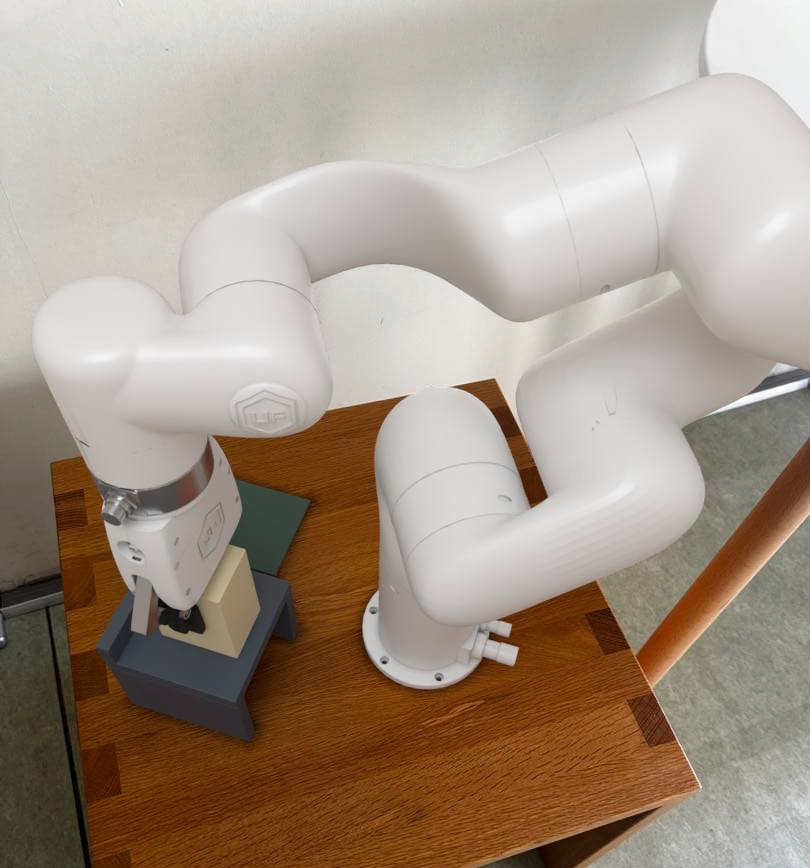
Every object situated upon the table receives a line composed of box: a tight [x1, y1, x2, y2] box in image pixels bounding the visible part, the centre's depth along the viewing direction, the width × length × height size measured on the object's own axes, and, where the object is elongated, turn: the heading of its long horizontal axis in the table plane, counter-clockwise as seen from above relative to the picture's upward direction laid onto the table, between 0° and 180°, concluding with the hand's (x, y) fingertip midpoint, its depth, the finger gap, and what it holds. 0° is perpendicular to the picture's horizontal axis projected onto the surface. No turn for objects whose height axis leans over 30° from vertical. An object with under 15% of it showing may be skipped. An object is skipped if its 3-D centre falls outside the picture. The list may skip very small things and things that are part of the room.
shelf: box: [95, 570, 299, 743], centre depth 75 cm, size 12×12×12 cm
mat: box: [229, 478, 311, 578], centre depth 89 cm, size 9×10×1 cm
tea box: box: [159, 544, 260, 658], centre depth 68 cm, size 5×7×10 cm
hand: (202, 595), depth 68 cm, fingers closed on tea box, 5 cm apart
